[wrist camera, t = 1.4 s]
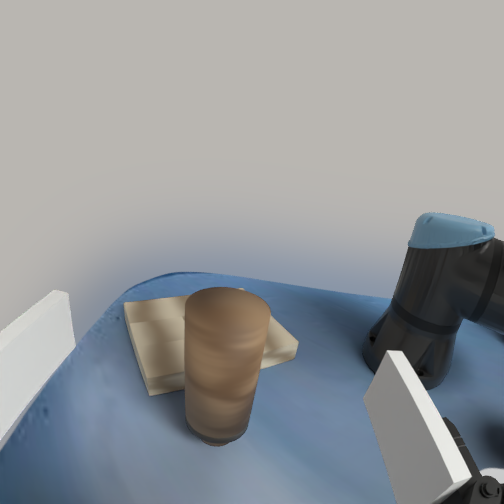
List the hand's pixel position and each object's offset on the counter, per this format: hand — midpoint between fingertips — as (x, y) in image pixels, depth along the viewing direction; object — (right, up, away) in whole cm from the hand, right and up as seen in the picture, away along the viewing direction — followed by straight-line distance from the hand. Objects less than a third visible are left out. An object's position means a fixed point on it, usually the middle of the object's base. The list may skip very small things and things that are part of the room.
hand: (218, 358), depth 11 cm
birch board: (-5, -8, +29) cm, 31 cm away
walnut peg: (-2, -14, +15) cm, 21 cm away
